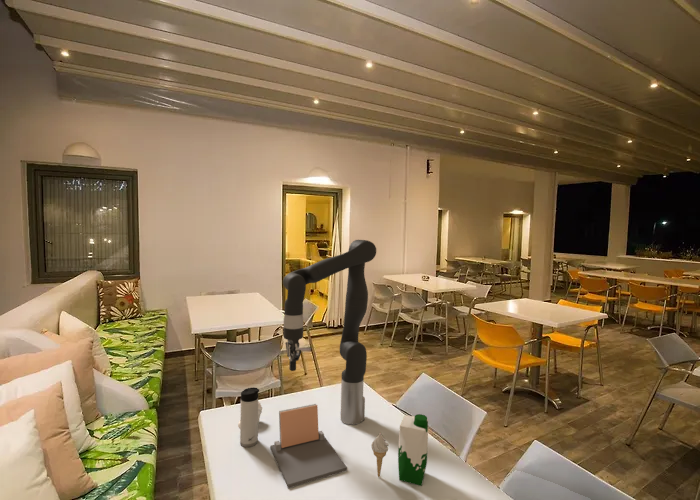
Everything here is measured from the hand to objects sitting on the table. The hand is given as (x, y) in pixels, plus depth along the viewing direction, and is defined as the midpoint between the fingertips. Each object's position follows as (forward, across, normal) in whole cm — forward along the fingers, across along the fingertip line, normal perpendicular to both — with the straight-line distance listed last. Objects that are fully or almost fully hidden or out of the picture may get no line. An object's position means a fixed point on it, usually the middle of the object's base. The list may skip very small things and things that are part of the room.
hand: (292, 370), depth 140 cm
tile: (+23, -11, 0) cm, 25 cm away
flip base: (+25, -18, 0) cm, 31 cm away
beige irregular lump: (+25, +12, +14) cm, 31 cm away
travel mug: (+25, 0, +16) cm, 30 cm away
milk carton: (+25, -40, -28) cm, 55 cm away
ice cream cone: (+25, -36, -18) cm, 47 cm away
